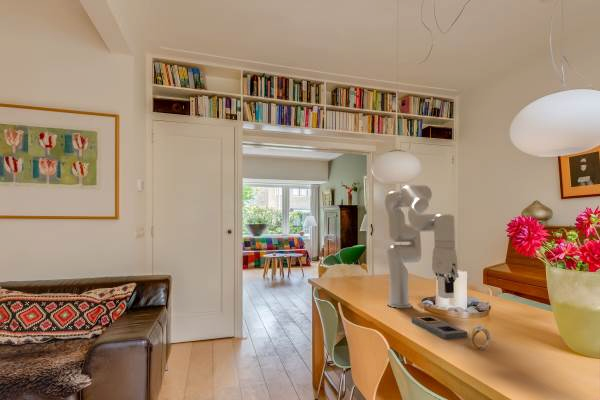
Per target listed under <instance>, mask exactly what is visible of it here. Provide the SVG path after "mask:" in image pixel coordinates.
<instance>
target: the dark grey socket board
mask: <svg viewBox="0 0 600 400" xmlns="http://www.w3.org/2000/svg"><path fill="white" fill-rule="evenodd" d="M411 323H412V324H414V325H416V326H418V327H420V328H422V329H424V330H425V329H426V331H428V332H430V333H431V334H433V335H435V336H437V337H439V338H440V339H443V340H446V341H447V340H453V339H465V338H468V331H466V330H464V329H462V328H460V327H457V326H455V325H453V324H450V323H449V322H446V321H443V320H442V319H440V318H437V317H435V316H432V315H427V316H415V317H413V316H412V317H411Z"/></svg>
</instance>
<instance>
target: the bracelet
mask: <svg viewBox="0 0 600 400" xmlns="http://www.w3.org/2000/svg"><path fill="white" fill-rule="evenodd" d="M481 331H482V332H483V334H485V336H486V341H485V343H484V344H483V345H477V344H475V337H476V335H477V334H478V333H480V332H481ZM469 339H470V342H471V344H472V346H473V347H474V348H477V349H479V350H483V349H486V348H487V347H488V346H489V344H490V342H491V334H490V331H489V330H488V329H486V327H485V326H483V325H478V324H477V325H475V326H474V327H473V328H472V329H471V331H470V334H469Z"/></svg>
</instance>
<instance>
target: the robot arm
mask: <svg viewBox="0 0 600 400" xmlns="http://www.w3.org/2000/svg"><path fill="white" fill-rule="evenodd" d="M432 194H433V192H432V189H431V188H430V187H429V186H427V185H425V184H407V185H405V186H403V187H402V188H401V190H395V191H390V192H387V194H386V195H385V198H384V206H385V209H386V212H387V216H388V233H389V239H390V241H392V242H395V243H408V244H392V245H390V246H389V247H388V248H387V250H386V254H387V261H388V270H389V272H388V273H389V295H388V296H387V297H388V298H389V300H388V301H387V302H386V305H387V306H388V305H389V306H388V307H390V306H391V308H394V307H396V308H395V309H409V308H412V307H413V303H412V302H410V291H409V271H408V269H407V267H406V266H405V264H407V263H410V264H413V263H418V262H420V260H421V258H422V243H421V242H422V241H421V240H422V239H421V232H424V233H425V232H427V233H428V232H431V233H432V232H433V233H434V234H433V235H434V236H433V237H434V247H433V251H432V261H431V262H432V263H431V268H432V269H431V270H432V272H433V273H434V274H435V276H436V280H437V281H438V276H446V280H447V283H446V293H454V294H455V289H454V287H455V285H454V283H455V281H456V280H457V279H458V278H459V277H460V275H459V273H458V271H459V270H458V268H459V267H458V256H457V251H456V240H455V239H456V237H455V235H456V234H455V217H454V215H453V214H445V213H424V212H426V210H427V209H428V208H429V205H430V204H429V203H430V201H431V199H432V197H433V195H432ZM401 208H408V209H407V210H408V211H407V217H408V219H407V220H408V222H409V223H406V215H405V214H404V211H403V210H402V209H401ZM449 276H450V278H449Z"/></svg>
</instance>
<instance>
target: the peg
mask: <svg viewBox="0 0 600 400" xmlns="http://www.w3.org/2000/svg"><path fill="white" fill-rule="evenodd" d="M450 277H451V276H449V278H450ZM446 283H447V280H446V275H445V276H438V280H437V291H438V292H437V294H438V295H437V296H438V297H439V298H441V299H442V298H443V299H453V298H454V294H455V292H454V293H446Z"/></svg>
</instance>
